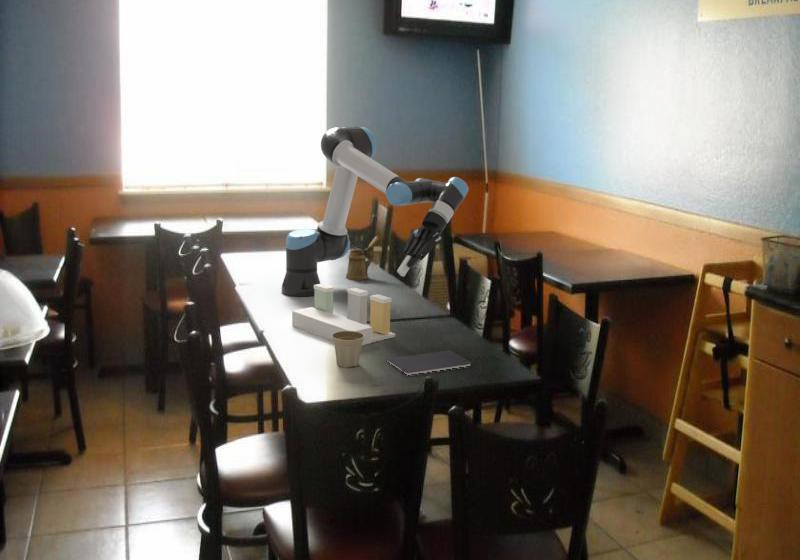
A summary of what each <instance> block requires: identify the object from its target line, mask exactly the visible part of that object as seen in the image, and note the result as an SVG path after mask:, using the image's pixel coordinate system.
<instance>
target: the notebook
mask: <svg viewBox="0 0 800 560" xmlns="http://www.w3.org/2000/svg"><path fill="white" fill-rule="evenodd" d="M385 361H387V362H386V363H388V362H389V363H390V364H389V363H388V364H389V365H391V364H392V365H393V366H395V367H396V368H398V369H399V370H401V371H402V372H404V373H405V374H407V375H406V376H408V375H410V376H412V375H411V374H417V375H419V374H418V373H424V374H428V373H427V372H430V373H433V372H432V371H437V372H441V371H440V370H444V371H447V370H446V369H451V370H453V369H452V368H457V369H460V368H459V367H464V368H467V367H466V366H470V367H471V364H472V361H470V360H468V359H466V358H464V357H463V356H461V355H459V354H458V353H456V352H454V351H452V350H440V351H435V352H426V353H420V354H412V355H405V356H397V357H389V358H386V360H385ZM392 365H391V366H392ZM393 366H392V367H393ZM395 367H394V368H395ZM398 369H397V370H398ZM399 370H398V371H399ZM401 371H400V372H401ZM402 372H401V373H402ZM404 373H403V374H404ZM405 374H404V375H405Z"/></svg>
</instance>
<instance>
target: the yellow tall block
mask: <svg viewBox="0 0 800 560" xmlns="http://www.w3.org/2000/svg"><path fill="white" fill-rule="evenodd" d="M392 299H393V298H392V297H389V296H385V295H382V294H379V293H376V294H372V295H369V300H370V307H369V308H370V310H369V314H370V315H369V325H370V327H372V331H375V332H378V333H381V334H385V333H389V332H391V304H392V303H391V302H393V301H392Z"/></svg>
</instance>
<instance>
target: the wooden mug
mask: <svg viewBox="0 0 800 560" xmlns="http://www.w3.org/2000/svg"><path fill="white" fill-rule="evenodd" d="M379 239H380V235H379V234H378V235H375V236H374V238H373V239H372V240H371V241H370V243H369V245H368V247H367V248H363V250H361V249H352V250H350V251H349V254H348V263H347V264H348V266H347V272H346V275H345V278H346V279H348V280H350V281H351V280H353V281H363V280H366V279H368V278H369V273H368V270H369V267H370V266H371V264H372V262H373V260H374V253H373V250H372V248H373V247H375V246H374V245H376V243H377V242H378V241H379ZM367 256H368V257H367ZM367 258H368V260H366V259H367Z"/></svg>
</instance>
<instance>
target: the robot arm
mask: <svg viewBox="0 0 800 560" xmlns="http://www.w3.org/2000/svg"><path fill="white" fill-rule="evenodd" d="M320 149H321V152H322V154H323V156H324V157H325V158H326V159H327V160H328V161H329V162H330V163H332V164H334V165H336V167H335V171H334V176H333V180H332V184H331V189H330V193H329V196H328V201H327V204H326V209H325V212H324V216H323V220H321V221H319V222H318V224H317V227H316V229H312V228H311V229H310V228H304V229H296V230H291V231H290V232H288V234H287V236H286V243H285V255H286V258H285V260H286V261H285V263H286V265H285V269H286V271H285V275H284V278H283V282H282V284H281V293H282V294H283V295H286V296H290V297H291V296H292V297H311V296H315V289H314V285H316V284H322V283H321V280H320V277H319V274H318V263H322V262H327V261H337V260H338V259H342V258H343V257H344V256H346V255H347V254H348V252H349V250H350V247H351V240H350V236H349V234H348V229H347V227H346V224H347V219H348V215H349V211H350V208H351V205H352V200H353V197H354V192H355V189H356V185H357V182H358V178H360V179H362V180H364V181H365V182H367V183H368V184H370V185H371V186H372V187H374V188H375V189H377V190H378V191H380V192H382V193H383V194H384V195H386V199H387V200H388V202H389V204H390V205H392V206H395V207H397V206H398V207H403V206H409V205H415V204H423V203H431V204H432V205H431V206H430V208H429V210H428V212H426V214H425V216H424V217H423V218H422V224H421V225H420V226H419V227H418V228H417V229H416V230H415V229H410V230H409V237H408V239H407V241H406V243H405V246H404V248H403V250H402V253H403V254H404V257H403V259H402V260H401V264H400V266H399V267H398V269H397V270H396V272H397V274H398V275H400V277H403V278H404V277H405V276H406V275H407V273H408V272H409V270H410V269H411V268H412V267H413V266H414V265H415V263H416V262H417V261H419V260H420V261H422V260H423V259H424V258H426V257H427V256H428V255H429V253H430V252H431V251H432V250H433V249H434V248H435V247H436V246H437V245H438V244H439V243H440V242H442V241H443V238H442V237H441V236H440V234H441V233H442V232H443V231H444V229H445V228H446V226H447V225H448V223H449V222H450V220H451V218H452V217H453V216H454V214H455V212H456V211H457V209H458V208H459V206H461V204H462V202H463V201H464V200H465V197H466V196H467V194H468V192H469V186H468V183H467V182H466V181H465V180H463V179H461V178H460V177H457V176H453V177H450V178H449V180H447V182H442V181H436V180H432V179H429V178H423V177H422V178H421V177H419V178H416V179H415V180H414V181H407V180H405V179H404V178H402V177H400V176H399V175H397V174H396V173H395V172H393V171H391V170H390V169H388V168H387V167H385V166H384V165H382V164H380V163H379V162H378V161H376V160H374V159H373V158H372V157H373V156H374V155H375V154H376V152H377V140H376V138H375V135H374V133H373V132H372V131H371V130H370V129H369V128H367V127H363V126H345V127H344V126H343V127H339V126H338V127H332V128H330V129H328V130H327V131H325V133H324V134H323V135H322V138H321V141H320Z"/></svg>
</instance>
